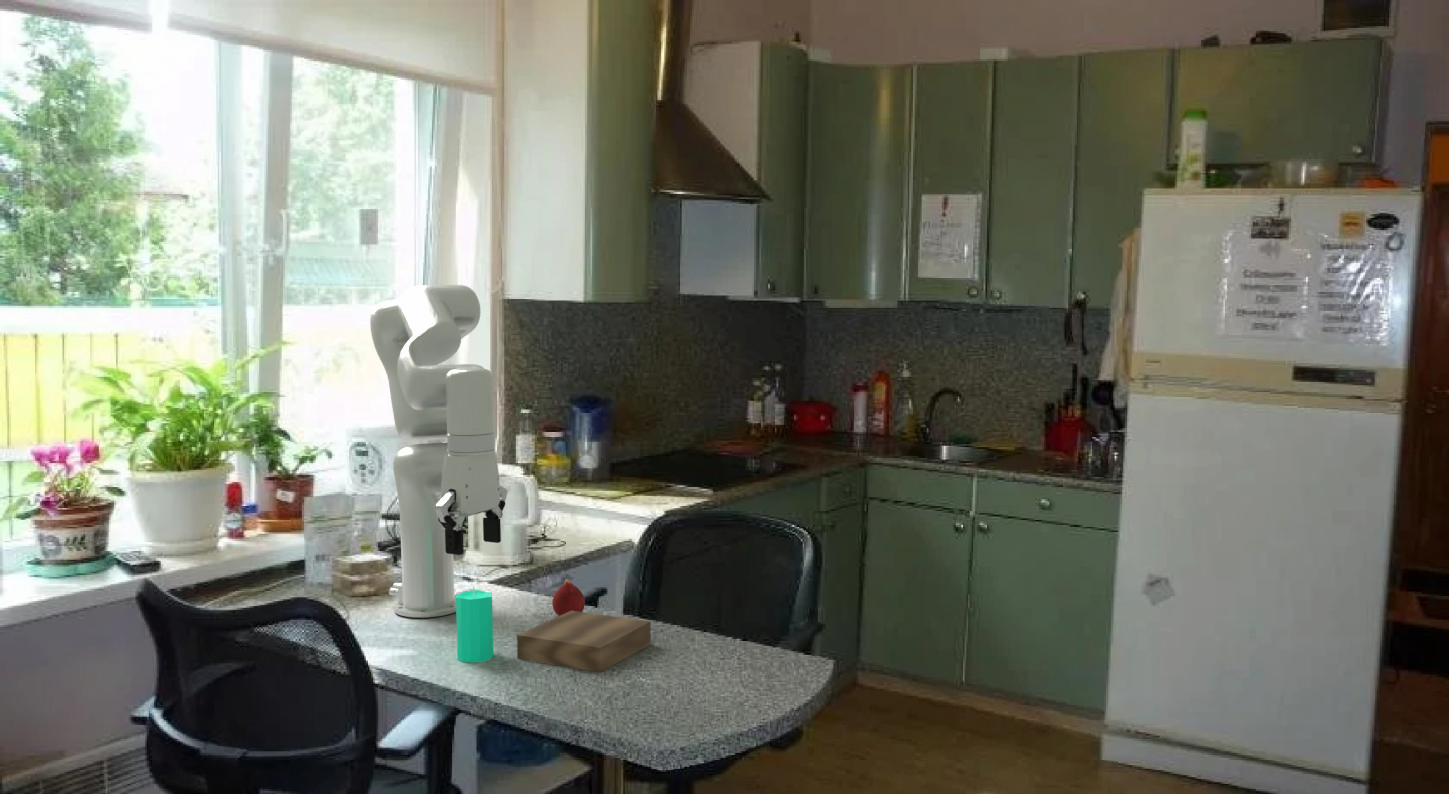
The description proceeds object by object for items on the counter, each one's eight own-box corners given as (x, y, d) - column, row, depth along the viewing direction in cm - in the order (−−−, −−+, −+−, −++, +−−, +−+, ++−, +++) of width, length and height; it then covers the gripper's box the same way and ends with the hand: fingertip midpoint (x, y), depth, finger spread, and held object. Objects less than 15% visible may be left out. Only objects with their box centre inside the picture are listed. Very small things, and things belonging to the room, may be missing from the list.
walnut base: (517, 658, 190) (516, 635, 190) (571, 632, 204) (571, 610, 204) (600, 672, 183) (599, 647, 183) (650, 644, 197) (650, 621, 197)
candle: (475, 664, 187) (474, 592, 186) (449, 658, 190) (447, 587, 189) (501, 654, 192) (499, 583, 191) (475, 648, 196) (473, 579, 194)
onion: (588, 618, 213) (587, 576, 212) (581, 627, 208) (580, 584, 207) (557, 617, 214) (556, 575, 213) (549, 627, 208) (548, 583, 207)
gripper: (485, 436, 198) (488, 535, 199) (417, 449, 182) (420, 556, 184) (521, 439, 194) (523, 539, 196) (455, 452, 179) (458, 561, 180)
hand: (473, 547), depth 190 cm, fingers open, 9 cm apart
